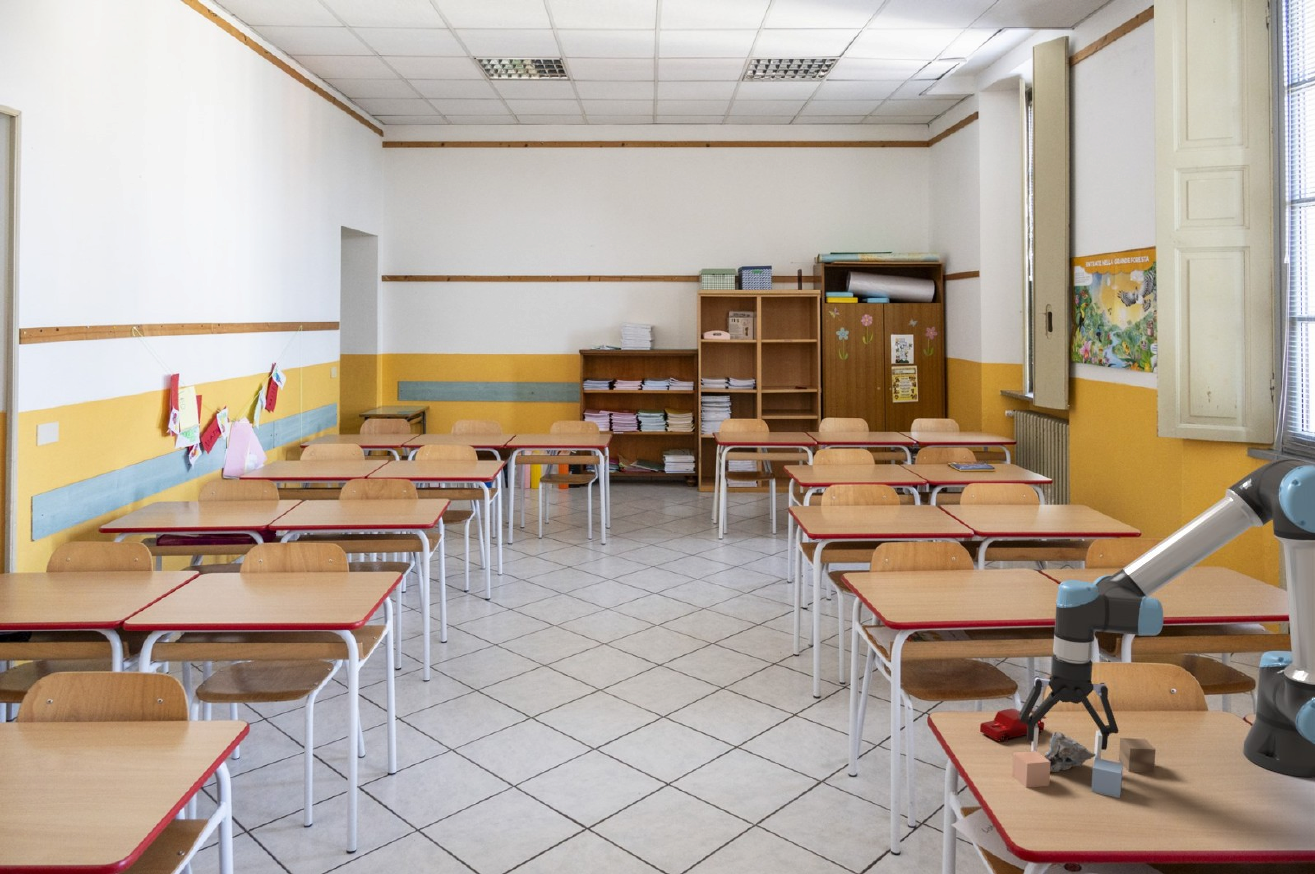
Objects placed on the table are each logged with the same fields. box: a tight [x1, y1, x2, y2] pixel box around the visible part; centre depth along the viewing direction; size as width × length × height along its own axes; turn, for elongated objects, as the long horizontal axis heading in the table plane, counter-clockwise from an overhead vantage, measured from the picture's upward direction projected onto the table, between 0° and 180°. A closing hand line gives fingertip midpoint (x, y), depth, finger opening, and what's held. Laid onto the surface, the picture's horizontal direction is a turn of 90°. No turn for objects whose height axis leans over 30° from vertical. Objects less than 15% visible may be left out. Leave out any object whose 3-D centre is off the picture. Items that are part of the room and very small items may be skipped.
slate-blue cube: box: [1090, 758, 1124, 799], centre depth 189 cm, size 5×5×5 cm
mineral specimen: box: [1043, 731, 1096, 773], centre depth 198 cm, size 10×8×10 cm
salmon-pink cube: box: [1011, 750, 1051, 788], centre depth 193 cm, size 5×5×5 cm
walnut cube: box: [1118, 737, 1156, 773], centre depth 200 cm, size 5×5×5 cm
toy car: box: [979, 708, 1047, 743], centre depth 215 cm, size 14×6×5 cm, turn 114°
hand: (1065, 759), depth 199 cm, fingers open, 11 cm apart
